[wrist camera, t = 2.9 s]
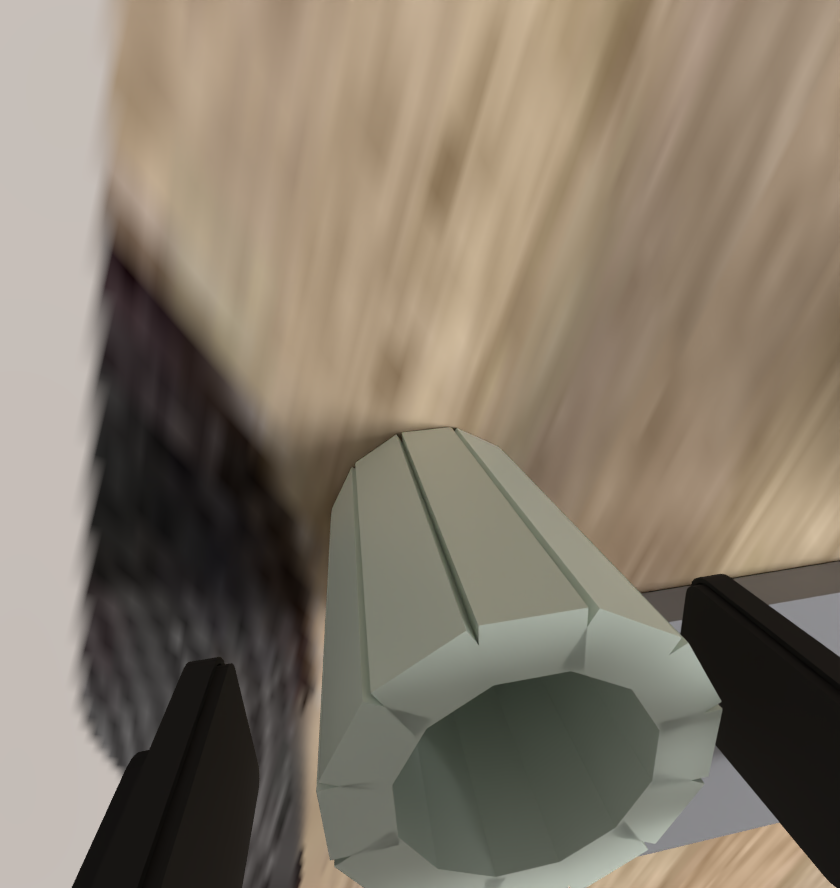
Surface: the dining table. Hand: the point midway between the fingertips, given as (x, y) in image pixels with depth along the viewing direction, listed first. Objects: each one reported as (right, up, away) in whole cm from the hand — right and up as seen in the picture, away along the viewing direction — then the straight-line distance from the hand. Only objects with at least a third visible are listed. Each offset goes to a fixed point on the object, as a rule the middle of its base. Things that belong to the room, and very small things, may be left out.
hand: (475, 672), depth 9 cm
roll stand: (+12, -6, +10) cm, 16 cm away
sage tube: (-1, +2, +5) cm, 5 cm away
